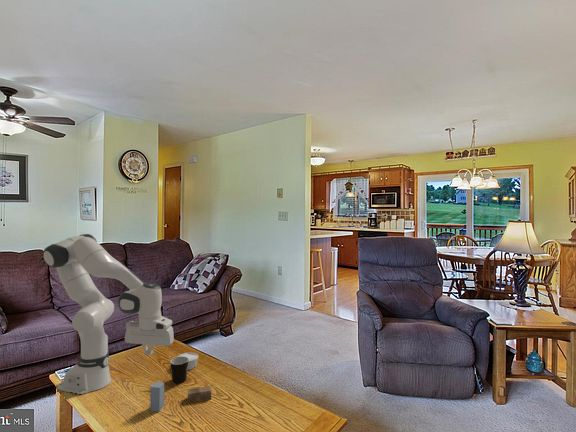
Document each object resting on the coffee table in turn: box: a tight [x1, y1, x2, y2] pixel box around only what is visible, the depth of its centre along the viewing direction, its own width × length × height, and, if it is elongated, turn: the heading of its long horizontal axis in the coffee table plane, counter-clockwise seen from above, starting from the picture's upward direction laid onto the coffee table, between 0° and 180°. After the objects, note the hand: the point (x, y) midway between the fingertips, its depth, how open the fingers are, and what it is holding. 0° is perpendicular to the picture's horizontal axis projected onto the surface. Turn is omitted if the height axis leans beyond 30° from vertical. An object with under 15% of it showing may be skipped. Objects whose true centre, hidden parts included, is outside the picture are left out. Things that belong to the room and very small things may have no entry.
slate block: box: [149, 381, 165, 412], centre depth 137 cm, size 4×4×10 cm
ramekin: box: [176, 352, 199, 371], centre depth 174 cm, size 11×11×5 cm
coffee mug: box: [169, 356, 189, 385], centre depth 160 cm, size 12×9×10 cm
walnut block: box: [187, 385, 212, 403], centre depth 144 cm, size 4×4×10 cm
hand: (148, 353), depth 138 cm, fingers closed
